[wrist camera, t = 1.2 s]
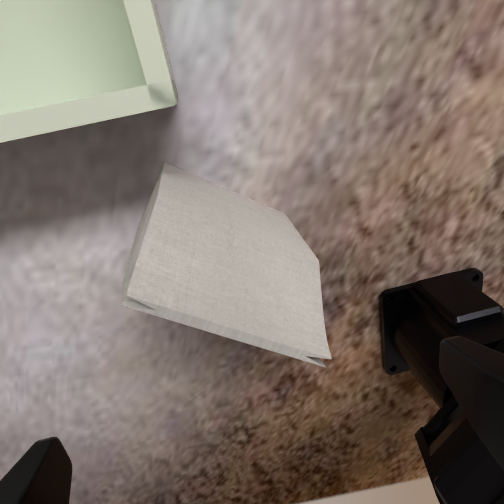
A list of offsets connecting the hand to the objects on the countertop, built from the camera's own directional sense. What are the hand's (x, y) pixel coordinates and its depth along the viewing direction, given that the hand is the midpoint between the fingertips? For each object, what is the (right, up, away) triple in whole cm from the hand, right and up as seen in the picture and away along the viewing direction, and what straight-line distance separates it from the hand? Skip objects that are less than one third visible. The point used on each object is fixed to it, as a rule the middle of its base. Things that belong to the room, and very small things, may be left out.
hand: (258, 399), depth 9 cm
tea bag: (-2, +5, +12) cm, 13 cm away
